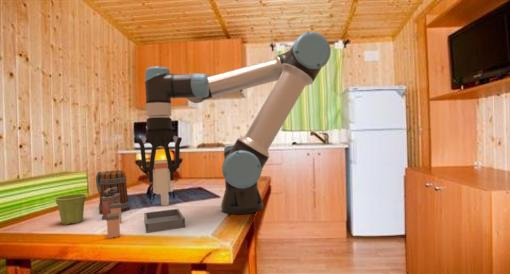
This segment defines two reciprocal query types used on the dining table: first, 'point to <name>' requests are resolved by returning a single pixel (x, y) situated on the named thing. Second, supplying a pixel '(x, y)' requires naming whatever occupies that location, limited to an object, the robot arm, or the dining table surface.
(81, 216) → the plant pot
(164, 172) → the block
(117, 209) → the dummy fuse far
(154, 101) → the robot arm
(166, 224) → the tray
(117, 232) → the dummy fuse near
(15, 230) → the dining table surface
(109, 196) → the lighter
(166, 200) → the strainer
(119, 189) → the mug
